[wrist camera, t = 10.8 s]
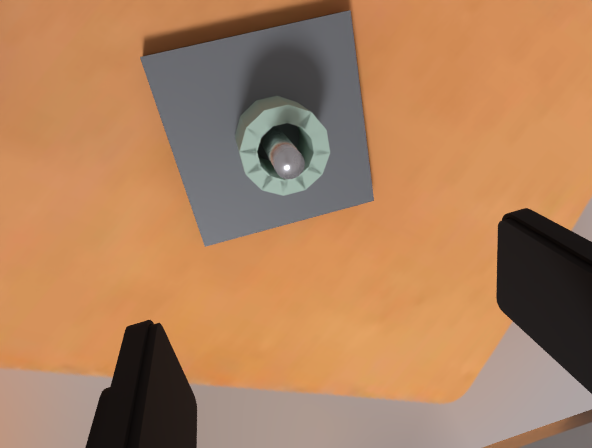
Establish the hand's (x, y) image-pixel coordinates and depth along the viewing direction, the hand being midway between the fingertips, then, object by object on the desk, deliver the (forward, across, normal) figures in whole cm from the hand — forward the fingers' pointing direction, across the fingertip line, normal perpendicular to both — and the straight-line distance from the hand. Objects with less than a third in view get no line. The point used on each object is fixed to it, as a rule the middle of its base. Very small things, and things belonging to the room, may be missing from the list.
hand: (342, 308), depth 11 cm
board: (+26, -2, +2) cm, 26 cm away
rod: (+25, -2, +1) cm, 25 cm away
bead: (+25, -2, +2) cm, 25 cm away
